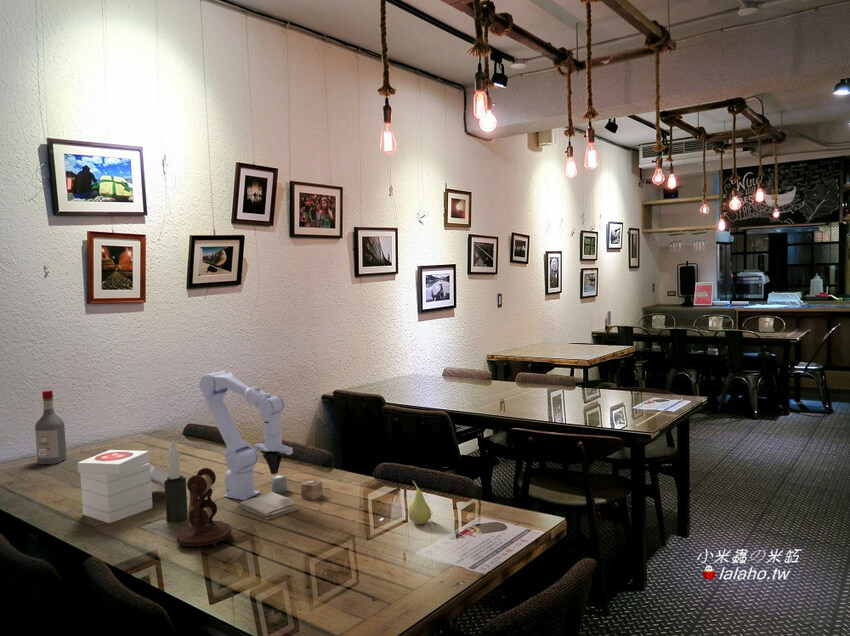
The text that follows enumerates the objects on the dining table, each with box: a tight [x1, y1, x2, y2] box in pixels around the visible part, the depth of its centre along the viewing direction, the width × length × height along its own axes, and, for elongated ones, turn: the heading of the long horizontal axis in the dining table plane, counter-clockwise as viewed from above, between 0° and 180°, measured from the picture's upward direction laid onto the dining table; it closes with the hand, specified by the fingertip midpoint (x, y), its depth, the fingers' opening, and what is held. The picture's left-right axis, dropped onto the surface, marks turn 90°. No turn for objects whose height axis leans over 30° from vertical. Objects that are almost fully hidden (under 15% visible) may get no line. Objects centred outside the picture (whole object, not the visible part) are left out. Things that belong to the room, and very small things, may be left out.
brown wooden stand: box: [176, 467, 232, 548], centre depth 179 cm, size 15×15×20 cm
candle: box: [164, 440, 189, 524], centre depth 195 cm, size 5×5×25 cm
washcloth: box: [239, 491, 298, 520], centre depth 204 cm, size 12×18×3 cm, turn 46°
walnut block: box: [300, 479, 323, 501], centre depth 213 cm, size 5×5×5 cm
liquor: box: [34, 389, 68, 465], centre depth 263 cm, size 9×9×30 cm
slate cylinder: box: [271, 474, 288, 495], centre depth 219 cm, size 5×5×5 cm
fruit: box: [407, 480, 432, 525], centre depth 187 cm, size 7×8×12 cm
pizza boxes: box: [77, 449, 170, 524], centre depth 209 cm, size 19×30×18 cm, turn 147°
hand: (274, 473), depth 209 cm, fingers closed
